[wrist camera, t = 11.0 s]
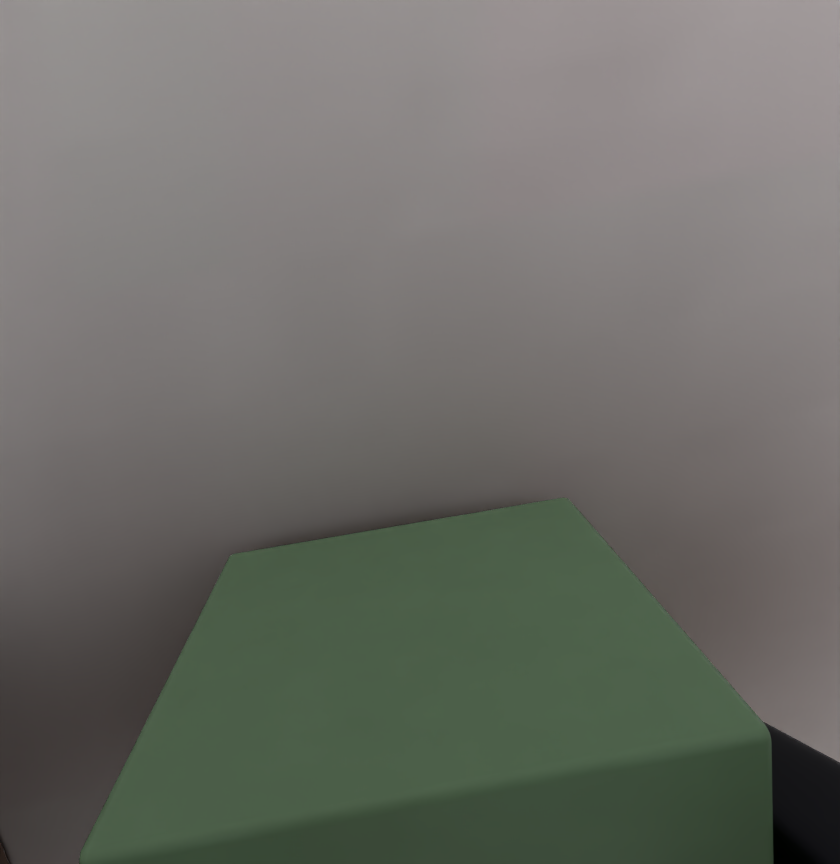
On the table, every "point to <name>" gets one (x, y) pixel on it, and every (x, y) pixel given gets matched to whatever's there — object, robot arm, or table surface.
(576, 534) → the block
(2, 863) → the box
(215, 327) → the table surface
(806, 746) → the robot arm
